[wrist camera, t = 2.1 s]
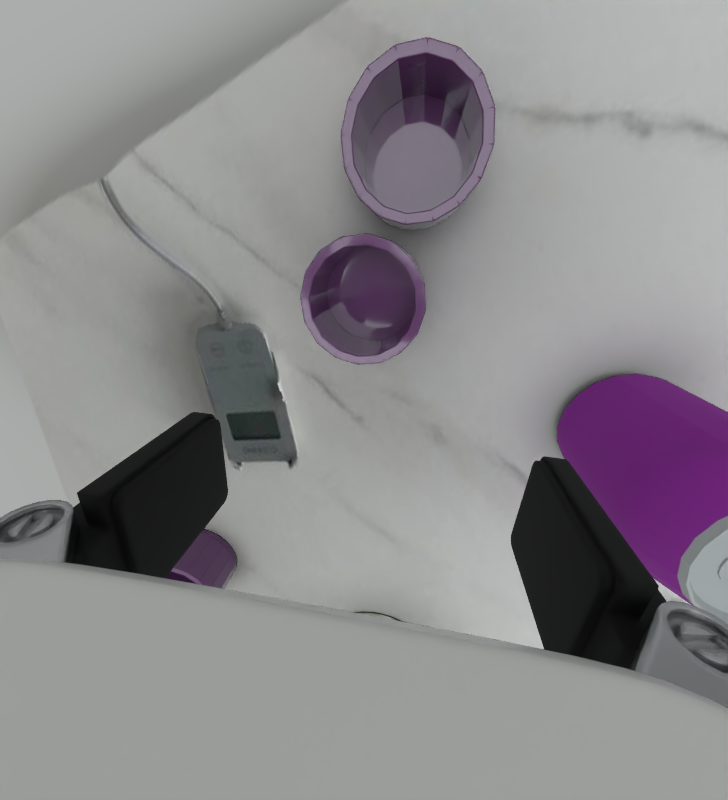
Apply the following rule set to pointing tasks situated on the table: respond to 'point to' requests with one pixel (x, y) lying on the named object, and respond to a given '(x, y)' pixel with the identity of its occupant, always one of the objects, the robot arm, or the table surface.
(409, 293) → the dish middle
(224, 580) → the dish far
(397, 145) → the dish near
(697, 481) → the beverage can
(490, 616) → the table surface
